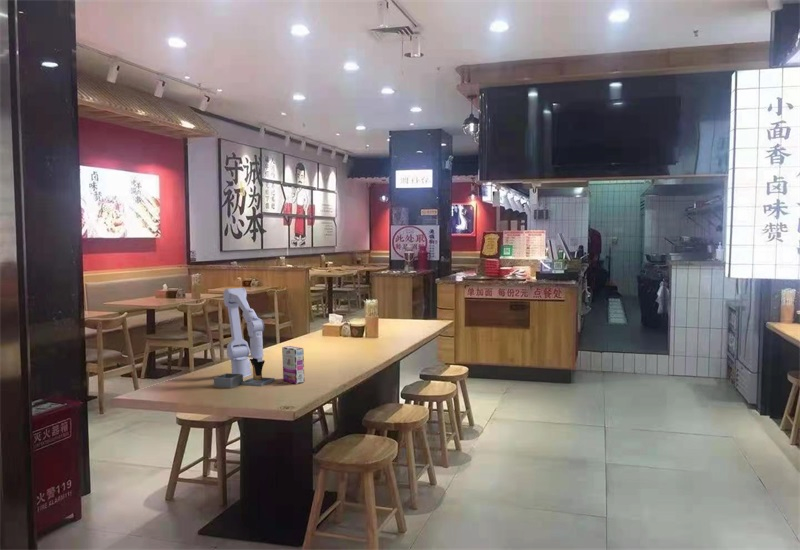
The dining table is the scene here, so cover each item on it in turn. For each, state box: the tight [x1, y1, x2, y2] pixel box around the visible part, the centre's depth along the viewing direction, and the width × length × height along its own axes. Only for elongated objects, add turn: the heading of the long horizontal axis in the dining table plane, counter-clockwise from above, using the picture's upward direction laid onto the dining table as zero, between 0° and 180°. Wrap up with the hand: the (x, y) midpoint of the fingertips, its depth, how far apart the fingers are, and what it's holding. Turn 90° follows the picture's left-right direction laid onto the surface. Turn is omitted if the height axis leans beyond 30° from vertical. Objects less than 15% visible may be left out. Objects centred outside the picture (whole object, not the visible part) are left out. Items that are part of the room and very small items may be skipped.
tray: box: [241, 376, 276, 387], centre depth 286 cm, size 11×11×2 cm
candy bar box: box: [281, 345, 305, 385], centre depth 288 cm, size 11×5×16 cm, turn 45°
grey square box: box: [213, 372, 244, 389], centre depth 283 cm, size 9×9×5 cm
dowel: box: [252, 365, 263, 381], centre depth 286 cm, size 4×4×7 cm
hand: (257, 374), depth 286 cm, fingers closed on dowel, 4 cm apart
